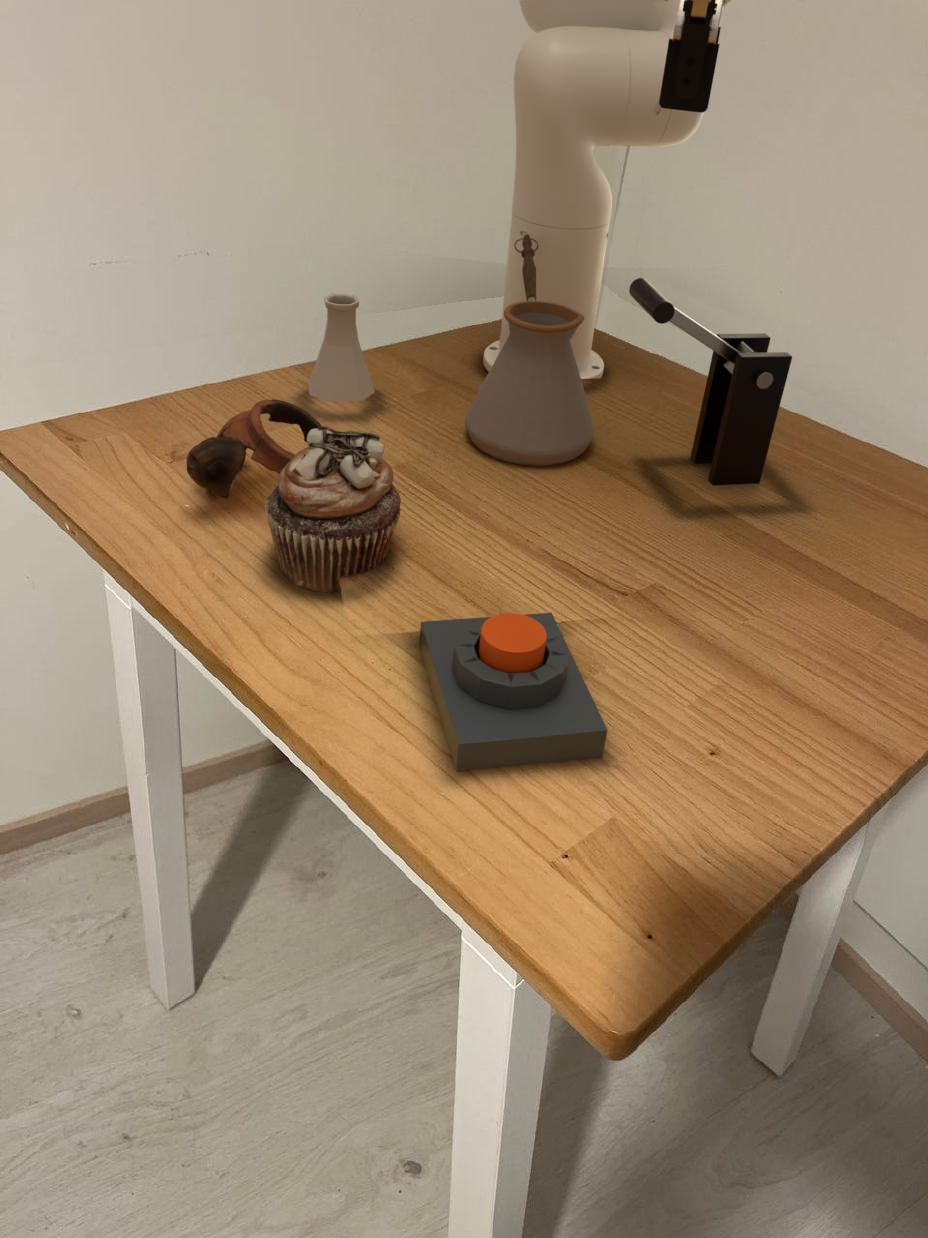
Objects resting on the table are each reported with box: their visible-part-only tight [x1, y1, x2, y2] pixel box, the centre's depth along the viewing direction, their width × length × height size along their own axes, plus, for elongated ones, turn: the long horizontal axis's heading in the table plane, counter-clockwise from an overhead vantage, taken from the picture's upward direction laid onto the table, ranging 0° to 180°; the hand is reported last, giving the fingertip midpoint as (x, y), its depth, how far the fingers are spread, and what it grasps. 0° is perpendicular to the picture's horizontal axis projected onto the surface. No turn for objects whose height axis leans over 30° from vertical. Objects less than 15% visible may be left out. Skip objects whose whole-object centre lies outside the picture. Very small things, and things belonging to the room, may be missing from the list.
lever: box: [628, 277, 759, 374], centre depth 85 cm, size 13×6×2 cm, turn 102°
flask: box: [307, 293, 376, 403], centre depth 99 cm, size 7×7×10 cm
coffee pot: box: [464, 235, 595, 467], centre depth 96 cm, size 21×12×15 cm, turn 3°
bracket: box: [690, 332, 793, 486], centre depth 90 cm, size 11×9×13 cm
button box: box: [418, 612, 608, 772], centre depth 67 cm, size 12×9×4 cm
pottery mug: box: [186, 398, 323, 500], centre depth 85 cm, size 12×10×8 cm
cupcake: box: [263, 425, 402, 593], centre depth 77 cm, size 10×10×10 cm
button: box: [479, 612, 547, 674], centre depth 65 cm, size 4×4×2 cm
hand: (685, 97), depth 75 cm, fingers open, 9 cm apart
